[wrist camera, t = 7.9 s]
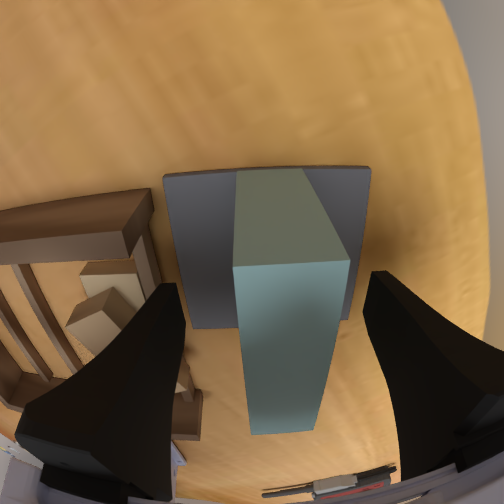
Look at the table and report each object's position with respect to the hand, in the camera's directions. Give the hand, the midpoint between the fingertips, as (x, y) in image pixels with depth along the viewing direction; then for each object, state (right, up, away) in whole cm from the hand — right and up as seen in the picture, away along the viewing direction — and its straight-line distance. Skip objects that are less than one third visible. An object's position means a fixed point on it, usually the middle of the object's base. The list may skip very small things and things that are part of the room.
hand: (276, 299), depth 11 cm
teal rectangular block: (0, +1, +2) cm, 2 cm away
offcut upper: (-7, -3, +4) cm, 8 cm away
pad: (0, +2, +2) cm, 3 cm away
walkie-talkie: (+11, -33, +26) cm, 43 cm away
